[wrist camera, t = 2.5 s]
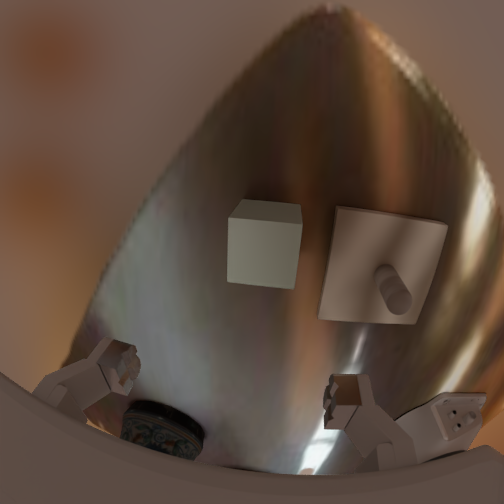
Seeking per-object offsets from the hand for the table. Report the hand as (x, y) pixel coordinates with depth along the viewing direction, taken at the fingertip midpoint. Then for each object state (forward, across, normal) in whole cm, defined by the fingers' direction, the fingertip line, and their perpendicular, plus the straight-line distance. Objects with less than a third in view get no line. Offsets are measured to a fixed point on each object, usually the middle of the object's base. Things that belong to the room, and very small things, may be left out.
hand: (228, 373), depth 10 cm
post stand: (+18, +12, -3) cm, 22 cm away
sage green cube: (+18, 0, 0) cm, 18 cm away
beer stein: (+18, -17, -43) cm, 50 cm away
